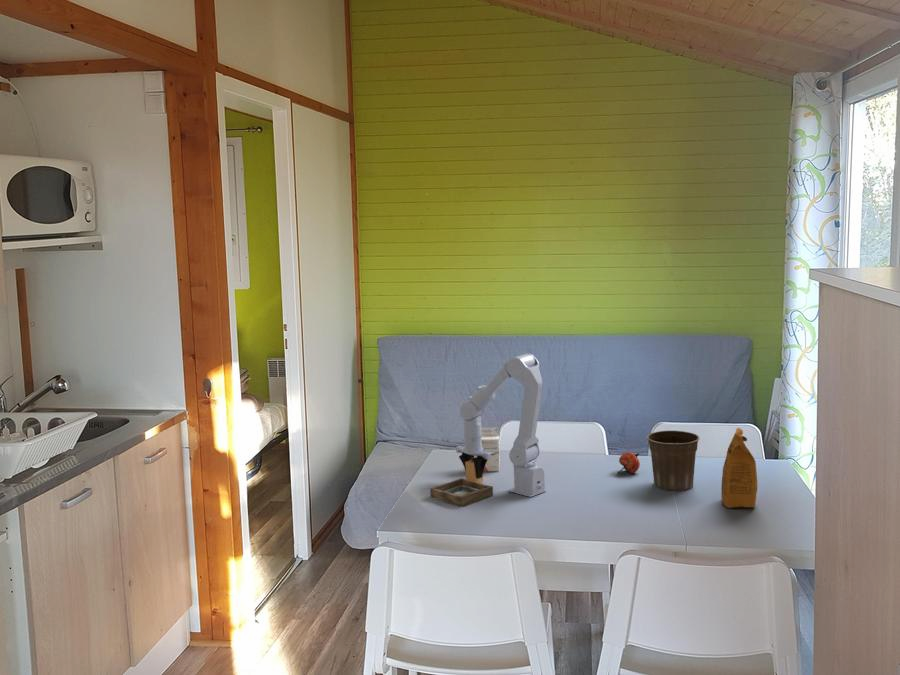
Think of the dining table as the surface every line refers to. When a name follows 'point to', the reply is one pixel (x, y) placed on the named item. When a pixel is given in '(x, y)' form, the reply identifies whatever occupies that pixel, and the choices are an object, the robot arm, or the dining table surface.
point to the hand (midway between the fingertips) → (474, 476)
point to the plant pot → (673, 459)
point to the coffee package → (739, 474)
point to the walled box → (462, 492)
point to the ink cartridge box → (491, 448)
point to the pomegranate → (629, 462)
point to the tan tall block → (472, 472)
